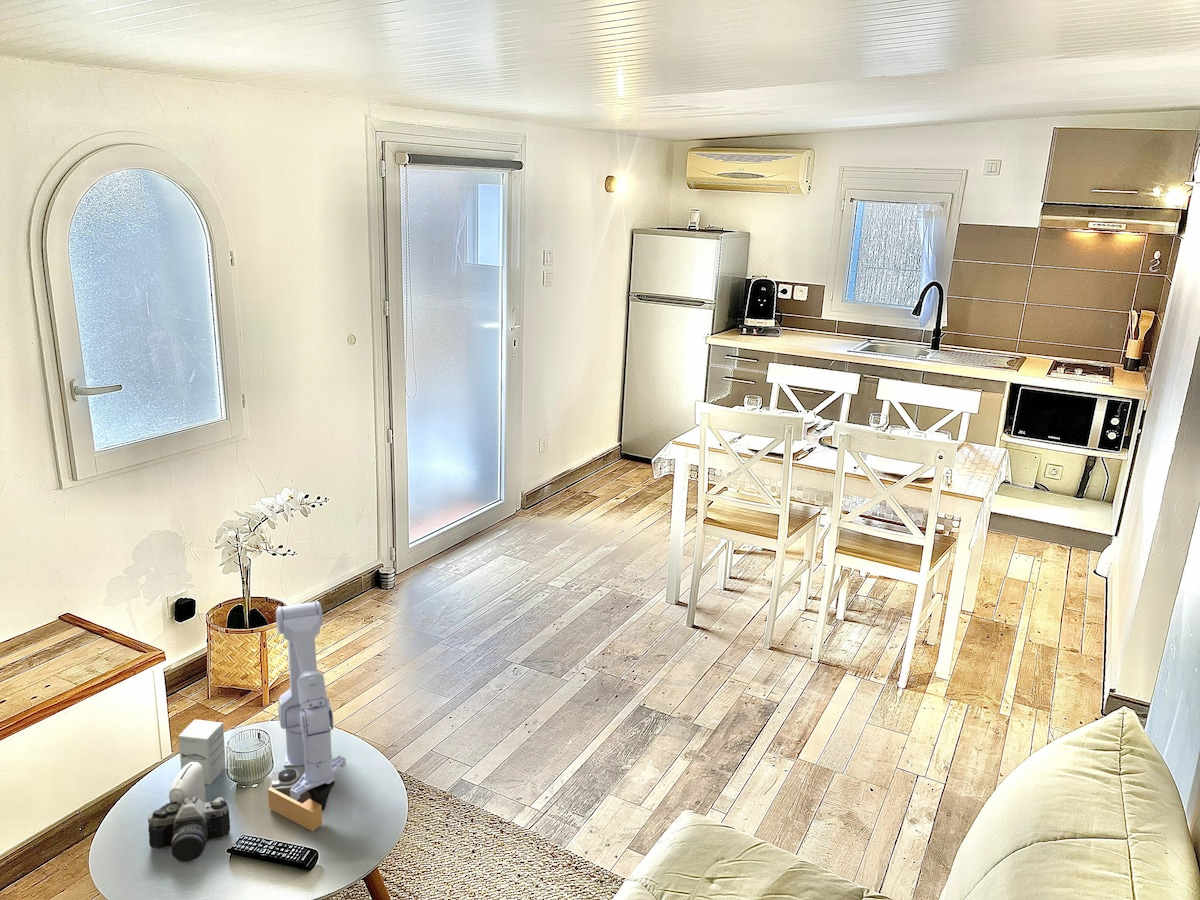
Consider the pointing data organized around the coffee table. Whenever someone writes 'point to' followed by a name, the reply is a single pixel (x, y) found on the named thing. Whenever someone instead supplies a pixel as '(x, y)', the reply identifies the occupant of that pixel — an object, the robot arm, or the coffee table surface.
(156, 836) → the camera
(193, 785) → the photo printer
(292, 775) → the block
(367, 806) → the coffee table surface
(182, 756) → the supplement box
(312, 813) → the tan l-shaped bracket
